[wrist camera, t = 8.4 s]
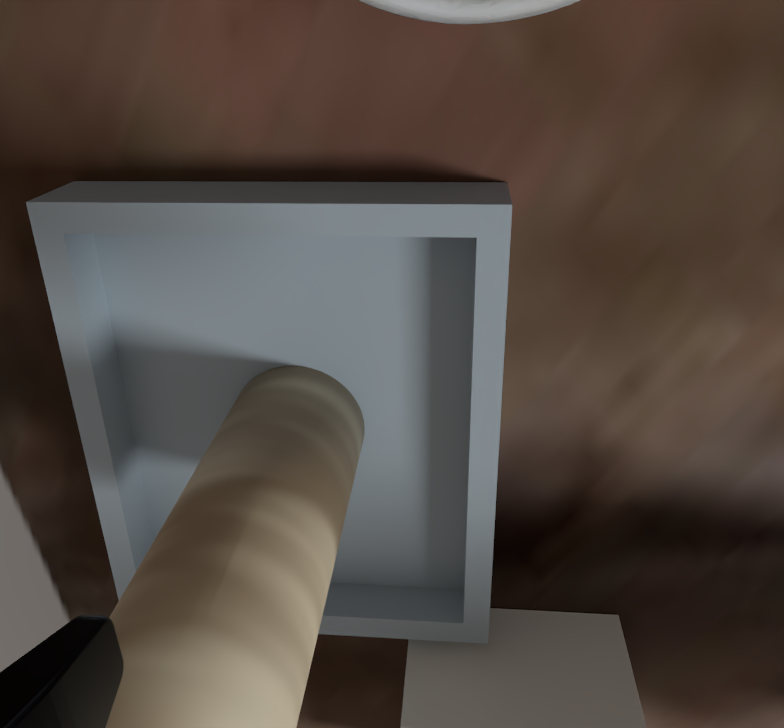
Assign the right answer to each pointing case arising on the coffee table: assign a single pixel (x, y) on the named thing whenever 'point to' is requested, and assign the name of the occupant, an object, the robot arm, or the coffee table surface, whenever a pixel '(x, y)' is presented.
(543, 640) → the white open box
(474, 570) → the slate tray
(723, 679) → the coffee table surface
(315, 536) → the beech dowel
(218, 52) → the coffee table surface
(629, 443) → the coffee table surface
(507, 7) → the ramekin
